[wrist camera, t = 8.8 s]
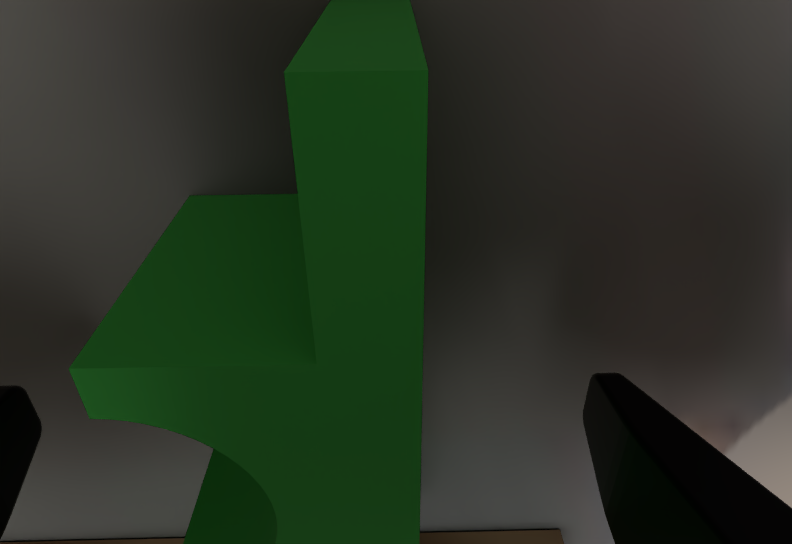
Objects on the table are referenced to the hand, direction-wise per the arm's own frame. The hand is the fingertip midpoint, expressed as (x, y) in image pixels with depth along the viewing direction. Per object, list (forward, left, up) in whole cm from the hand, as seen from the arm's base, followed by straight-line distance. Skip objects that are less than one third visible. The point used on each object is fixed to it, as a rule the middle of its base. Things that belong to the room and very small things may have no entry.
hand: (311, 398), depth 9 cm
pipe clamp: (0, 0, -3) cm, 3 cm away
